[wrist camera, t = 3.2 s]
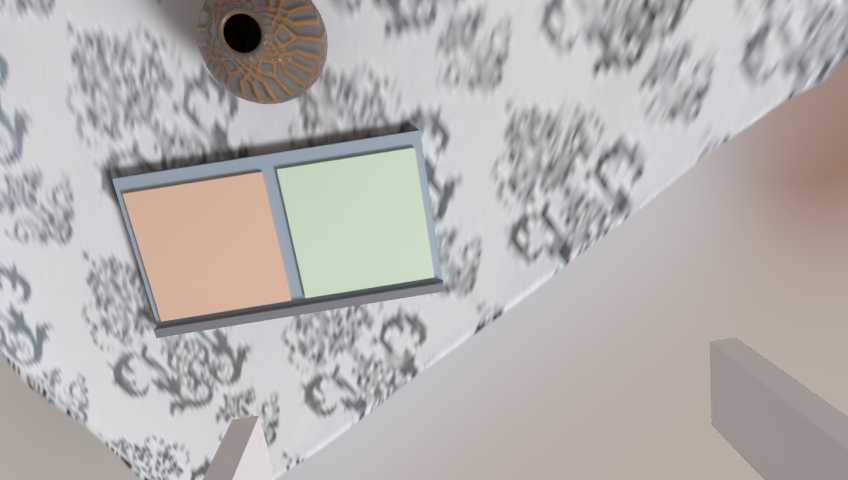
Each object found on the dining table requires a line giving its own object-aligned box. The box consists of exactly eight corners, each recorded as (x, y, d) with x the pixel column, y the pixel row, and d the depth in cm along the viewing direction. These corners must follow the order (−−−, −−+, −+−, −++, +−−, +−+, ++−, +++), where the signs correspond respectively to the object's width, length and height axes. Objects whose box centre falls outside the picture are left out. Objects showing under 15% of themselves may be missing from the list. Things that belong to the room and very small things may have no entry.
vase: (261, 121, 36) (222, 133, 28) (198, 22, 35) (136, 2, 26) (353, 67, 36) (341, 62, 27) (294, -37, 34) (262, -77, 26)
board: (118, 177, 37) (107, 180, 35) (419, 129, 37) (420, 131, 36) (164, 329, 40) (156, 338, 38) (442, 284, 40) (444, 291, 39)
